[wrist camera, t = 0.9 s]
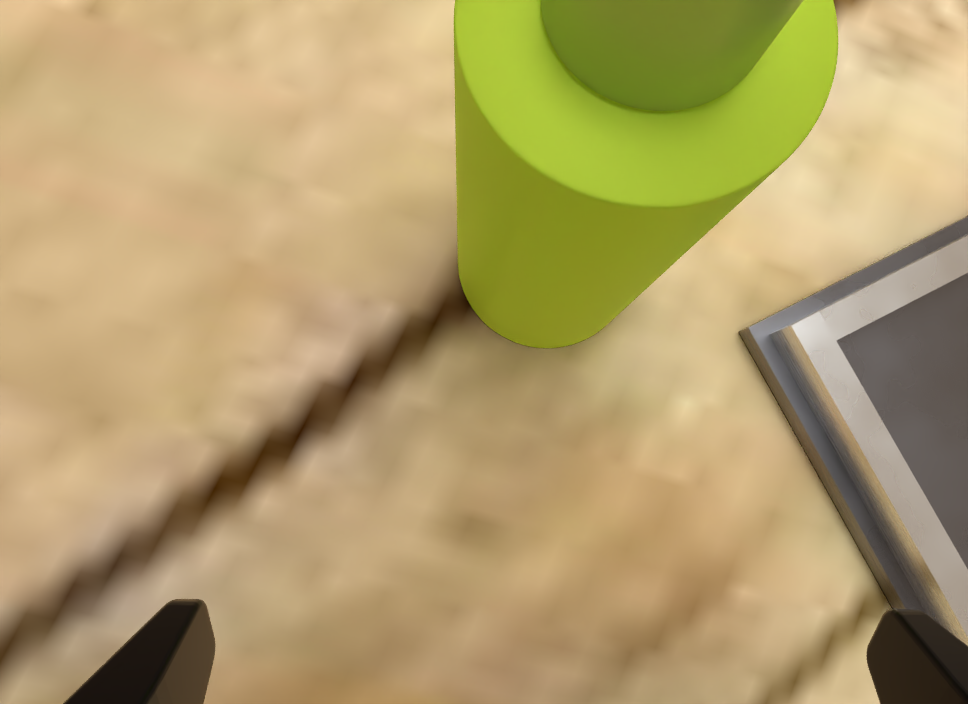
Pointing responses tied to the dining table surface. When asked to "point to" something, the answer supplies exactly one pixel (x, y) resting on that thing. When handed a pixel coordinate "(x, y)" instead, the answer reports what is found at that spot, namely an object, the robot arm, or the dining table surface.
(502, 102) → the soap dispenser
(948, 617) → the holder
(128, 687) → the robot arm
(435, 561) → the dining table surface
